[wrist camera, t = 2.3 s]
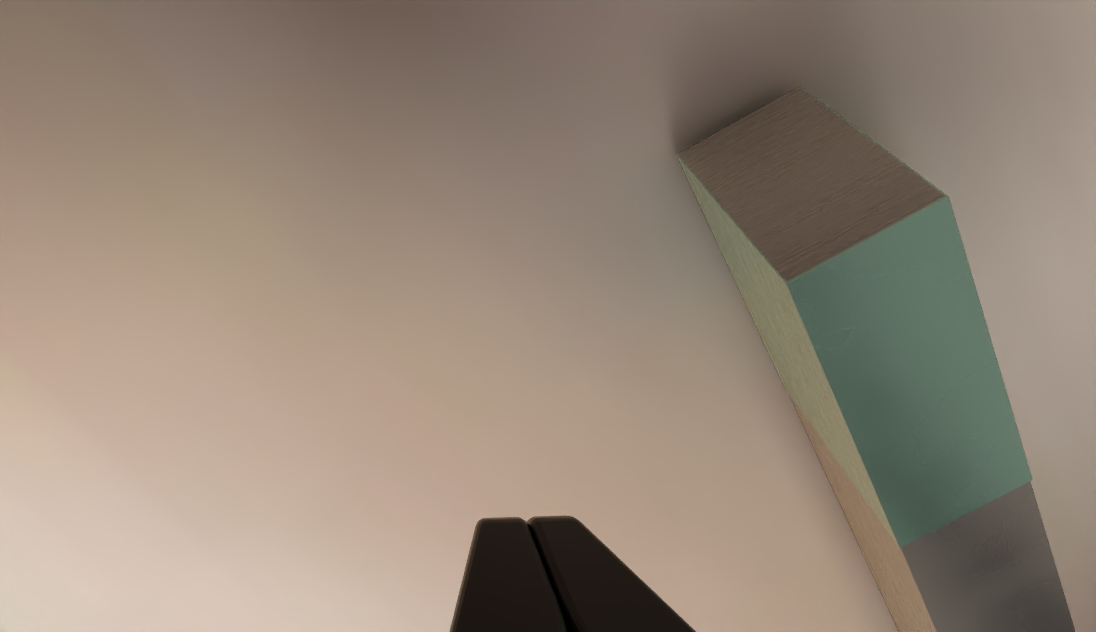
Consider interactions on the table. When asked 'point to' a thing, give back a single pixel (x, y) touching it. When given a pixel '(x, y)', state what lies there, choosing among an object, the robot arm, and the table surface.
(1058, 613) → the bar
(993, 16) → the table surface
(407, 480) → the table surface
